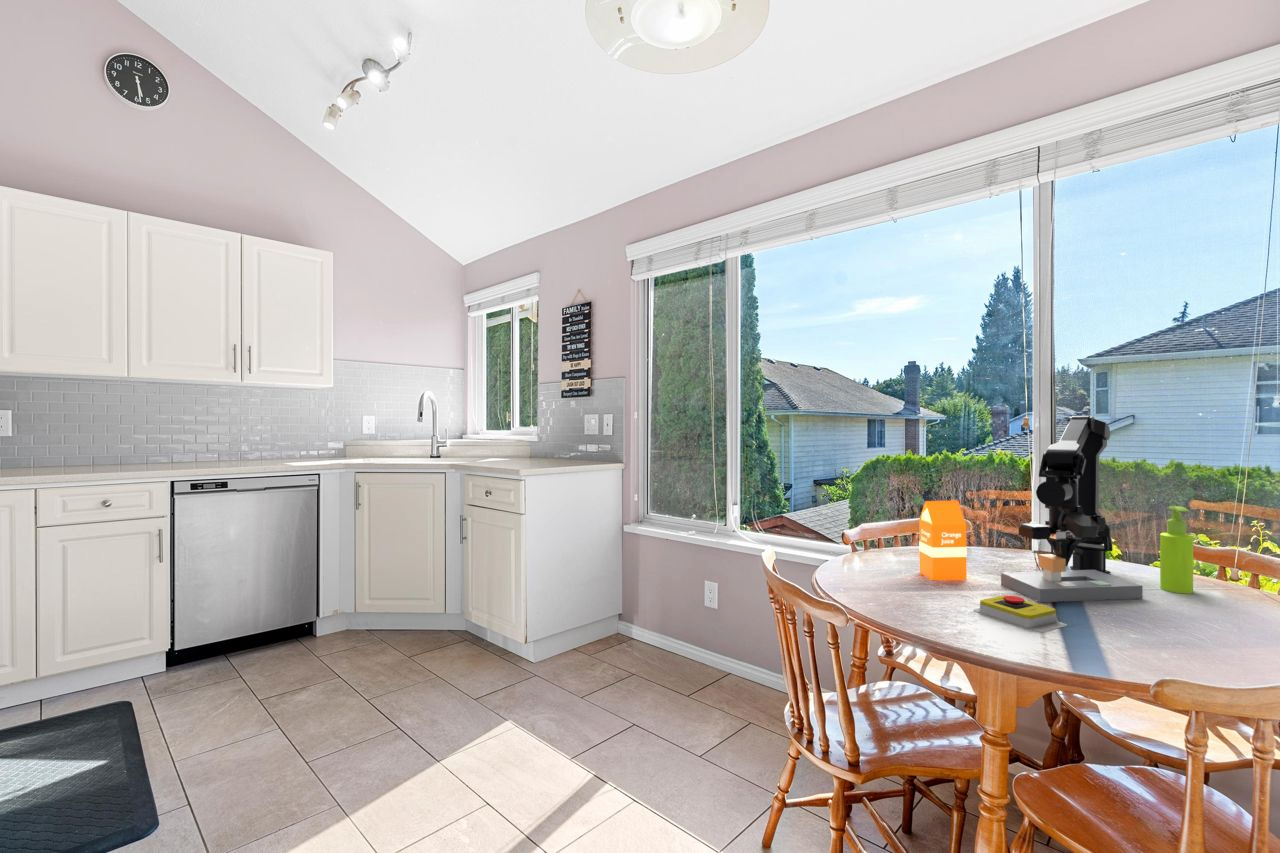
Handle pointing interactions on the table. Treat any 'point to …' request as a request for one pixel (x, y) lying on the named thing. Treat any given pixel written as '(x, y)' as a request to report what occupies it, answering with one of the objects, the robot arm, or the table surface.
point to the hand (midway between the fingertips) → (1064, 566)
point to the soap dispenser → (1176, 555)
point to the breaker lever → (1051, 566)
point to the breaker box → (1071, 586)
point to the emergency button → (1020, 613)
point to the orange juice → (942, 541)
